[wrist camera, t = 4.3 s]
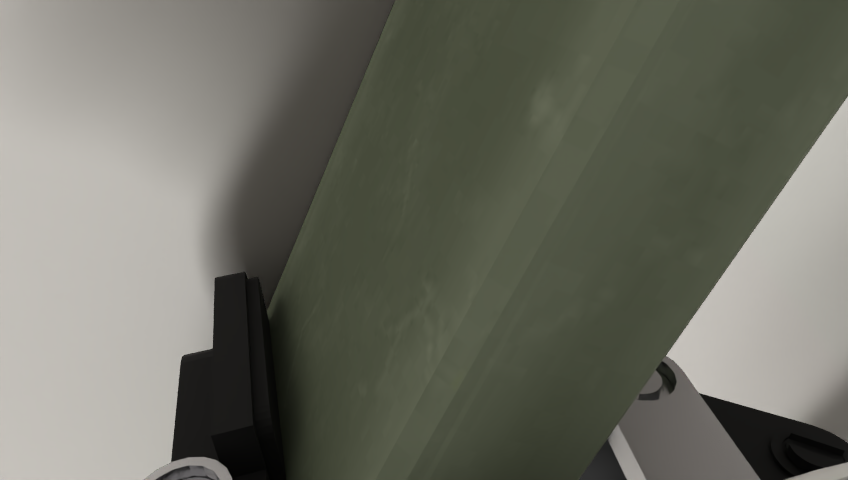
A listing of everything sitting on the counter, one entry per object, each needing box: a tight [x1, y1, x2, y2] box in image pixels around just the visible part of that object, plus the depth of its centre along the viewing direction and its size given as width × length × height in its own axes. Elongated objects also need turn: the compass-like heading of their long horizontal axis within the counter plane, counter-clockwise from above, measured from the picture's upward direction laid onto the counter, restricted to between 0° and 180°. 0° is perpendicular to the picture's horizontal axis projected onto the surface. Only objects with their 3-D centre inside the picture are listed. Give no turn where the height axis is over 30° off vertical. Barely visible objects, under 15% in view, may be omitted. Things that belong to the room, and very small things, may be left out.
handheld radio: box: [267, 0, 848, 480], centre depth 9 cm, size 7×3×25 cm
